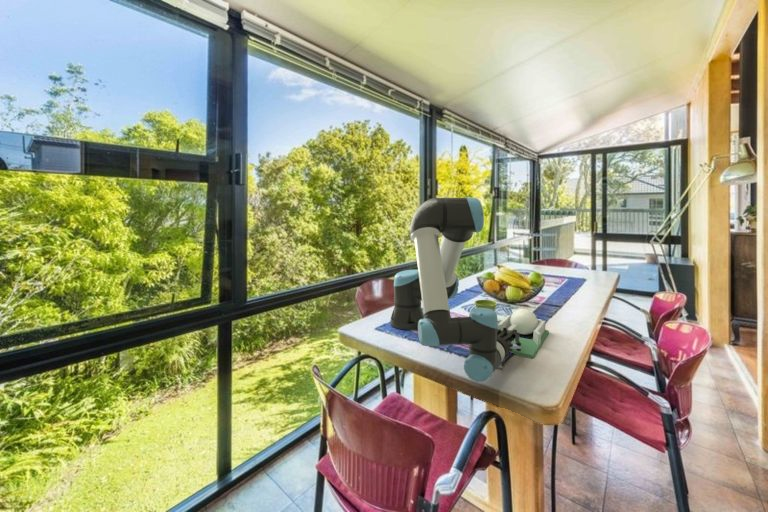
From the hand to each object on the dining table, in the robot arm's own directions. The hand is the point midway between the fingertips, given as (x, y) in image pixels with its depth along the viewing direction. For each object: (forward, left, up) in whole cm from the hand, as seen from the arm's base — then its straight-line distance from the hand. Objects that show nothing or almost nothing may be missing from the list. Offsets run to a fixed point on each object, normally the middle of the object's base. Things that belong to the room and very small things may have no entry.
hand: (514, 328), depth 125 cm
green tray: (0, +5, -6) cm, 8 cm away
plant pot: (-17, +18, -6) cm, 26 cm away
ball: (0, +12, -1) cm, 12 cm away
